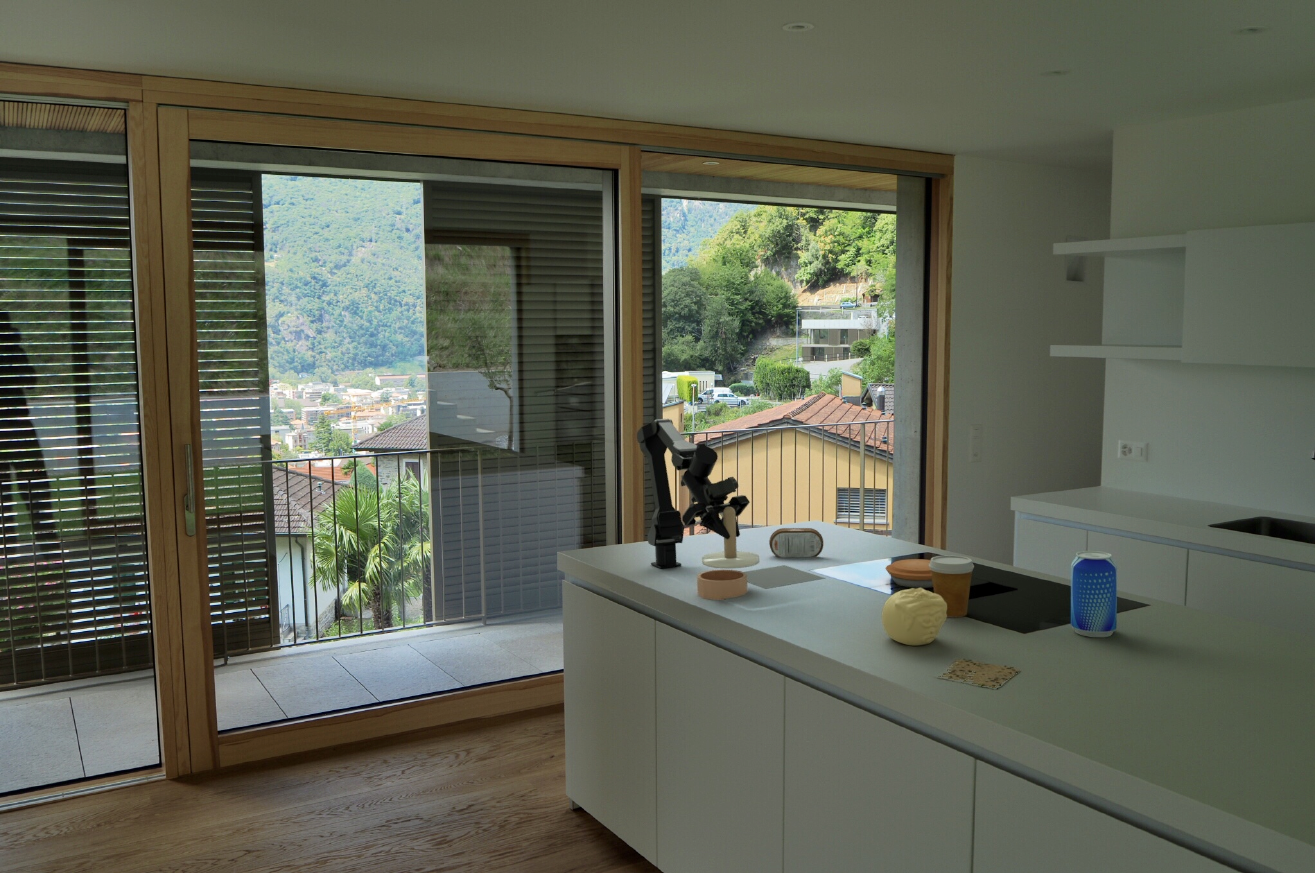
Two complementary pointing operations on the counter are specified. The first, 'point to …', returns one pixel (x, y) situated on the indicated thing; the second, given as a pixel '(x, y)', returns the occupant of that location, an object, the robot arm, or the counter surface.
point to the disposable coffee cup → (952, 582)
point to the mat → (779, 576)
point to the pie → (911, 573)
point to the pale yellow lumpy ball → (914, 616)
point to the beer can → (1094, 594)
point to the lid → (730, 548)
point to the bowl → (721, 584)
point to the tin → (796, 542)
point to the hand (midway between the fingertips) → (733, 537)
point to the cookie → (980, 672)
